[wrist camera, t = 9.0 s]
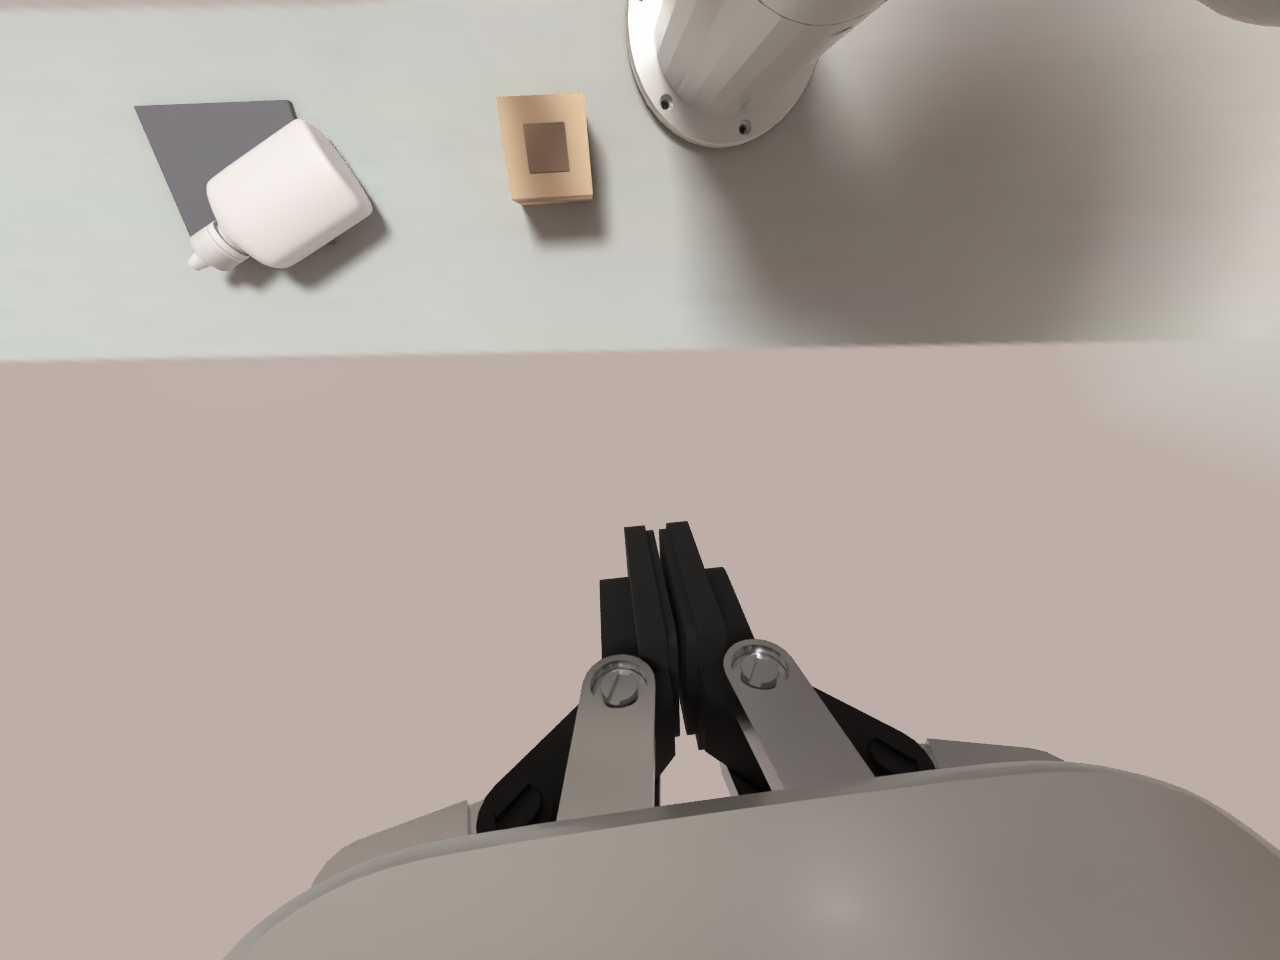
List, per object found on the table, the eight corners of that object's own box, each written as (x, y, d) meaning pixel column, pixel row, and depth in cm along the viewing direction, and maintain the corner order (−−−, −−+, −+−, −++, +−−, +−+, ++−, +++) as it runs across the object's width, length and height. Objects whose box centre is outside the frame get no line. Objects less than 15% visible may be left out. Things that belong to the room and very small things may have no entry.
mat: (290, 101, 30) (287, 99, 29) (335, 243, 33) (332, 243, 33) (139, 107, 29) (133, 106, 29) (201, 251, 33) (197, 251, 32)
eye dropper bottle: (377, 198, 33) (244, 286, 35) (305, 109, 29) (155, 213, 30) (375, 219, 31) (230, 314, 32) (294, 124, 26) (130, 238, 27)
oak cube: (584, 114, 31) (583, 92, 27) (592, 201, 34) (592, 194, 29) (509, 118, 31) (495, 96, 27) (522, 205, 33) (511, 198, 29)
